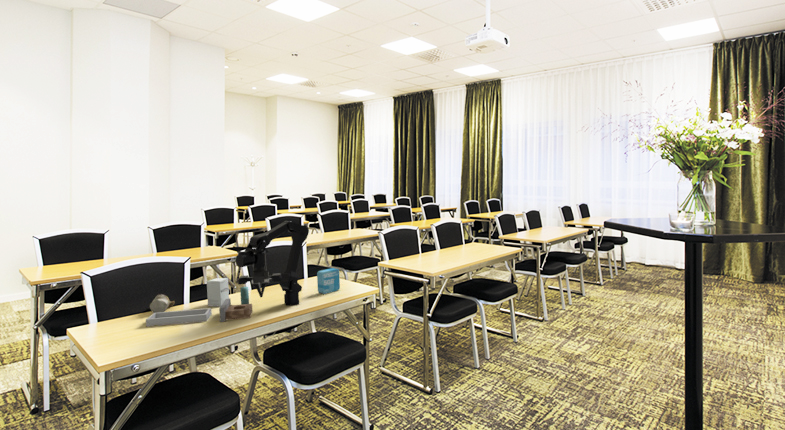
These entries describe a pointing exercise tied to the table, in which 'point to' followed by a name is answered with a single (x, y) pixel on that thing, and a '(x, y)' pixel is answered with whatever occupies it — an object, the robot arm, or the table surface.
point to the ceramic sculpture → (160, 303)
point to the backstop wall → (224, 309)
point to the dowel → (244, 295)
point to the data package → (328, 280)
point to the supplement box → (217, 291)
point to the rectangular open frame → (179, 317)
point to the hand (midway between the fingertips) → (261, 297)
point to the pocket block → (239, 311)
